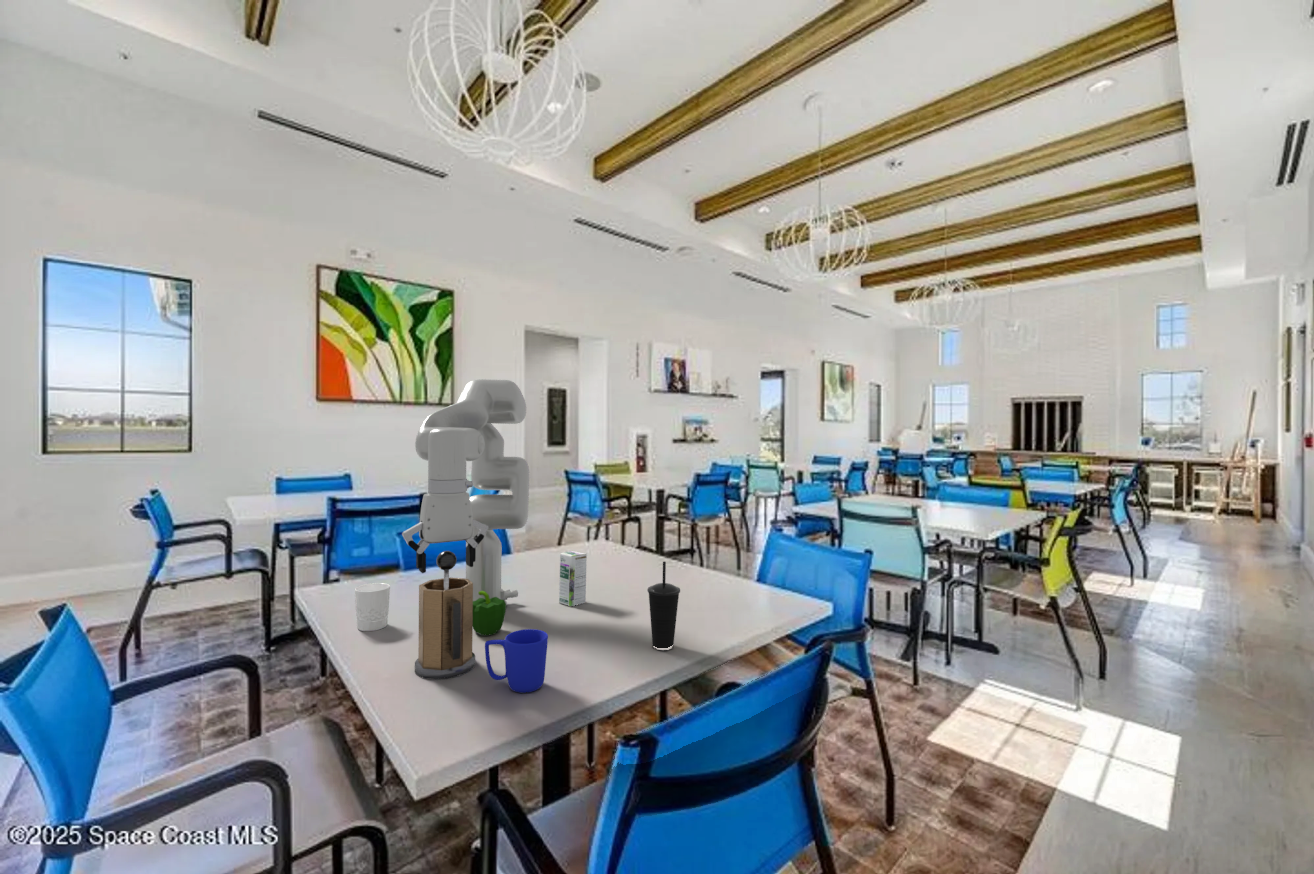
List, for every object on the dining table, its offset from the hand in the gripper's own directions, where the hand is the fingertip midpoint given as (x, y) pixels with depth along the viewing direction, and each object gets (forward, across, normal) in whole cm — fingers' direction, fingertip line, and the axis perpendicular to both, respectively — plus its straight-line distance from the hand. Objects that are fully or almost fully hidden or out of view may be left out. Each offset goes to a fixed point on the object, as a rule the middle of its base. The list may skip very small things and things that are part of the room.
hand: (446, 568), depth 120 cm
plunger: (+15, 0, 0) cm, 15 cm away
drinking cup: (+21, -45, +16) cm, 52 cm away
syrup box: (+21, -42, -25) cm, 53 cm away
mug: (+21, -9, +17) cm, 28 cm away
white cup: (+21, +9, -34) cm, 41 cm away
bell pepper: (+21, -14, -15) cm, 29 cm away
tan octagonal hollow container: (+21, 0, +1) cm, 21 cm away
